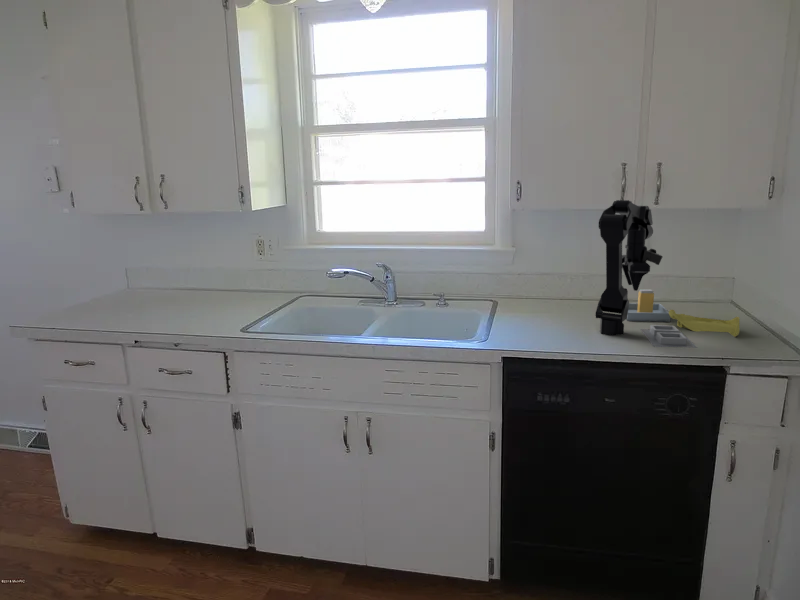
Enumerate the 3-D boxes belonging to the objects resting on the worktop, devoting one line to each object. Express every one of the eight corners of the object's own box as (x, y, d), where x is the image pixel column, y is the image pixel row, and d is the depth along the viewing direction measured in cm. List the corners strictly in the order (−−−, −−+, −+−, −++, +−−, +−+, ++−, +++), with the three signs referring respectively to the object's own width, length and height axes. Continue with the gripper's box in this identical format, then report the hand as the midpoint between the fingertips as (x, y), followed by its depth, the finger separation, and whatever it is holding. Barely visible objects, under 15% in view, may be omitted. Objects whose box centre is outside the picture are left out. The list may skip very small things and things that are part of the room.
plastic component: (730, 321, 186) (740, 315, 177) (729, 343, 185) (739, 338, 176) (666, 314, 192) (672, 308, 183) (664, 335, 191) (670, 330, 181)
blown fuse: (652, 315, 202) (654, 291, 200) (639, 315, 202) (640, 291, 200) (650, 313, 205) (652, 289, 202) (637, 312, 205) (638, 289, 203)
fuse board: (653, 351, 167) (654, 339, 166) (639, 333, 184) (640, 323, 183) (697, 352, 164) (698, 341, 164) (679, 334, 182) (680, 323, 181)
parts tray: (627, 320, 198) (628, 312, 198) (620, 310, 212) (620, 303, 211) (670, 321, 196) (670, 313, 195) (659, 311, 209) (660, 303, 208)
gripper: (668, 246, 181) (664, 294, 185) (654, 239, 199) (651, 282, 203) (631, 246, 183) (628, 293, 187) (621, 239, 201) (618, 282, 205)
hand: (632, 287), depth 195 cm, fingers open, 9 cm apart
